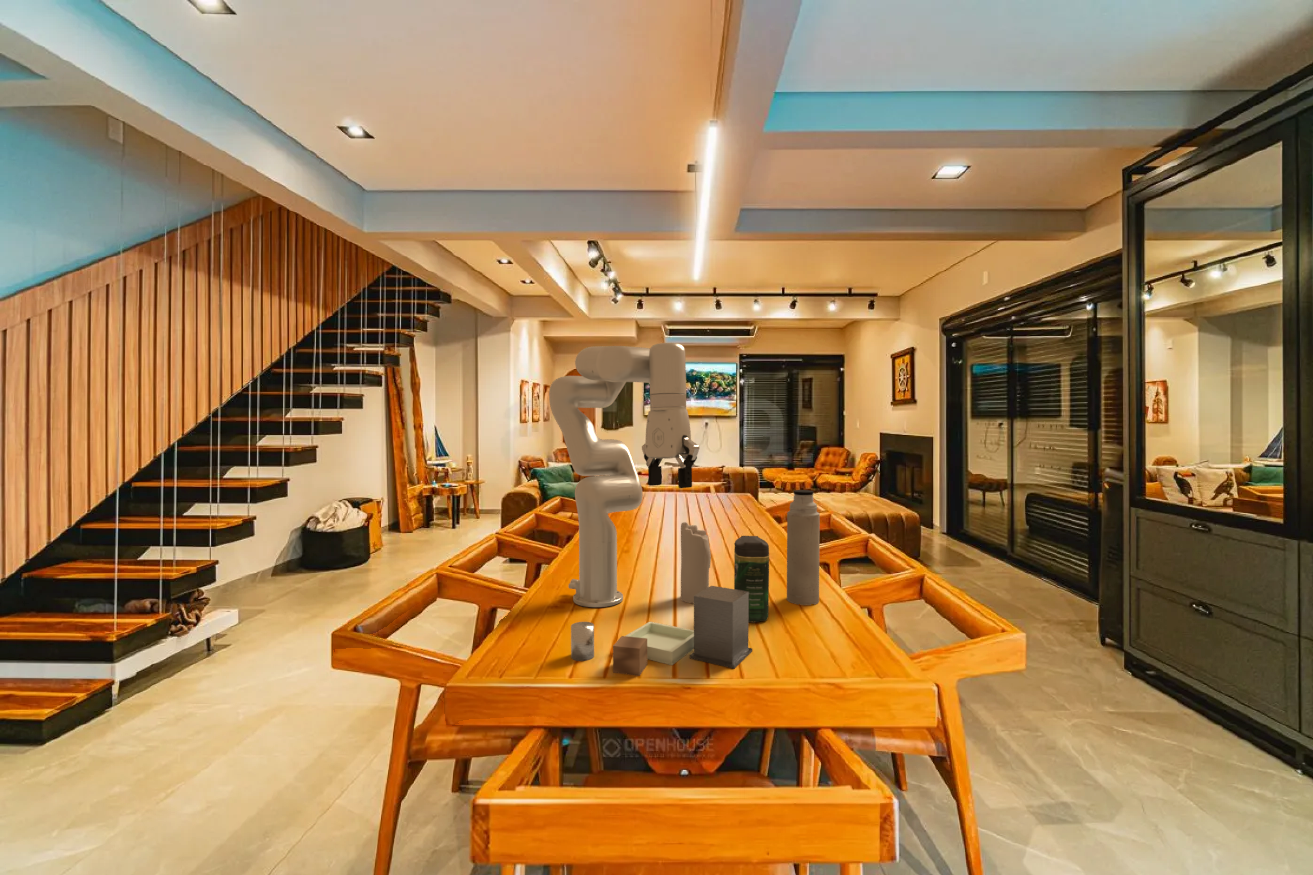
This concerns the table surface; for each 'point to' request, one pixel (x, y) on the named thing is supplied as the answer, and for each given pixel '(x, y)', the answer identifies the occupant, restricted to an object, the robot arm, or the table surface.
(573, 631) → the grey cylinder
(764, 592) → the coffee jar
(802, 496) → the thermos bottle
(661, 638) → the tray
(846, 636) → the table surface
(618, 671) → the walnut block
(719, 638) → the block
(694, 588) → the grey jagged upright block
